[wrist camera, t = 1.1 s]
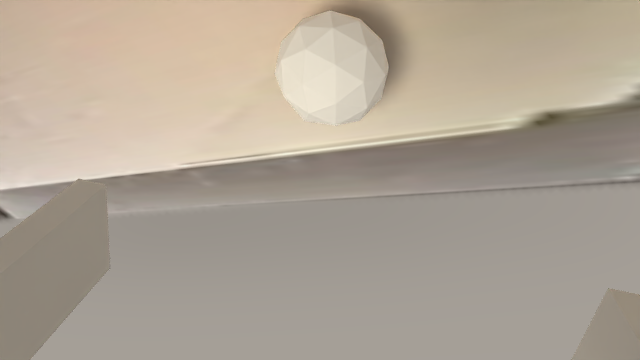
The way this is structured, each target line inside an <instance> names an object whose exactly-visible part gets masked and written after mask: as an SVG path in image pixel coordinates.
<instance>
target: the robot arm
mask: <svg viewBox="0 0 640 360" xmlns="http://www.w3.org/2000/svg"><path fill="white" fill-rule="evenodd" d="M109 254H110V253H109V234H108V212H107V192H106V184H101V183H97V182H92V181H87V180H82V179H78V180H76V181H75V182H74V183H72V184H71V185H70V186H69V187H67V188H66V189H65V190H63V191H62V192H61V193H59V194H58V195H57V196H55V197H54V198H53V199H51V200H50V201H49V202H47V203H46V204H45V205H43V206H42V207H41V208H40V209H38V210H37V211H36V212H34V213H33V214H32V215H30V216H29V217H28V218H26V219H25V220H24V221H22V222H21V223H20V224H19V225H17V226H16V227H14V228H13V229H12V230H11V231H9V232H8V233H7V234H5V235H4V236H3V237H1V238H0V360H30V359H31V358H32V357H33V356H34V355H35V353H36V352H37V351H38V350H39V349H40V348H41V347H42V345H43V344H44V343H45V342H46V341H47V340H48V339H49V337H50V336H51V335H52V334H53V333H54V332H55V331H56V329H57V328H58V327H59V326H60V325H61V324H62V323H63V321H64V320H65V319H66V318H67V317H68V315H69V314H70V313H71V312H72V311H73V310H74V309H75V308H76V306H77V305H78V304H79V303H80V302H81V301H82V300H83V298H84V297H85V296H86V295H87V294H88V293H89V292H90V290H91V289H92V288H93V287H94V286H95V285H96V284H97V282H98V281H99V280H100V279H101V278H102V277H103V276H104V274H105V273H106V272H107V271H108V270H109V269H110V255H109ZM571 360H640V295H639V294H634V293H629V292H624V291H619V290H614V289H609V288H608V290H607V292H606V294H605V296H604V297H603V299H602V301H601V303H600V305H599V307H598V309H597V311H596V313H595V315H594V317H593V319H592V321H591V323H590V325H589V327H588V328H587V330H586V332H585V334H584V336H583V338H582V340H581V342H580V344H579V346H578V348H577V350H576V352H575V354H574V356H573V358H572V359H571Z"/></svg>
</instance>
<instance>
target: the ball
mask: <svg viewBox="0 0 640 360" xmlns="http://www.w3.org/2000/svg"><path fill="white" fill-rule="evenodd" d="M388 70H389V65H388V61H387V57H386V53H385V49H384V45H383V41H382V40H381V39H380V38H379V37H378V36H377V35H376V34H375V33H374V32H373V31H372V30H371V29H370V28H369V27H368V26H367V25H366V24H365V23H364V22H363V21H362V20H361V19H360V18H356V17H352V16H349V15H345V14H342V13H338V12H334V11H331V10H330V11H326V12H323V13H320V14H317V15H314V16H310V17H307V18H304V19H303V20H302V21H301V22H300V23H299V24H298V25H297V26H296V27H295V28H294V29H293V30H292V31H291V32H290V33H289V34H288V35H287V36H286V37H285V38H284V39H283V40H282V42H281V45H280V50H279V54H278V59H277V64H276V68H275V76H276V78H277V81H278V83H279V86H280V89H281V91H282V94H283V96H284V98H285V99H286V100H287V101H288V102H289V104H290V105H291V106H292V107H293V108H294V109H295V111H296V112H297V113H298V114H299V115H300V116H301V118H302V119H303V120H304V121H307V122H314V123H321V124H328V125H335V126H336V125H341V124H346V123H351V122H356V121H360V120H361V119H362V118H363V117H364V116H365V115H366V114H367V113H368V112H369V111H370V110H371V109H372V108H373V107H374V106H375V105H376V104H377V103H378V102H379V101H380V100H381V99H382V95H383V90H384V86H385V82H386V78H387V74H388Z"/></svg>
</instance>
